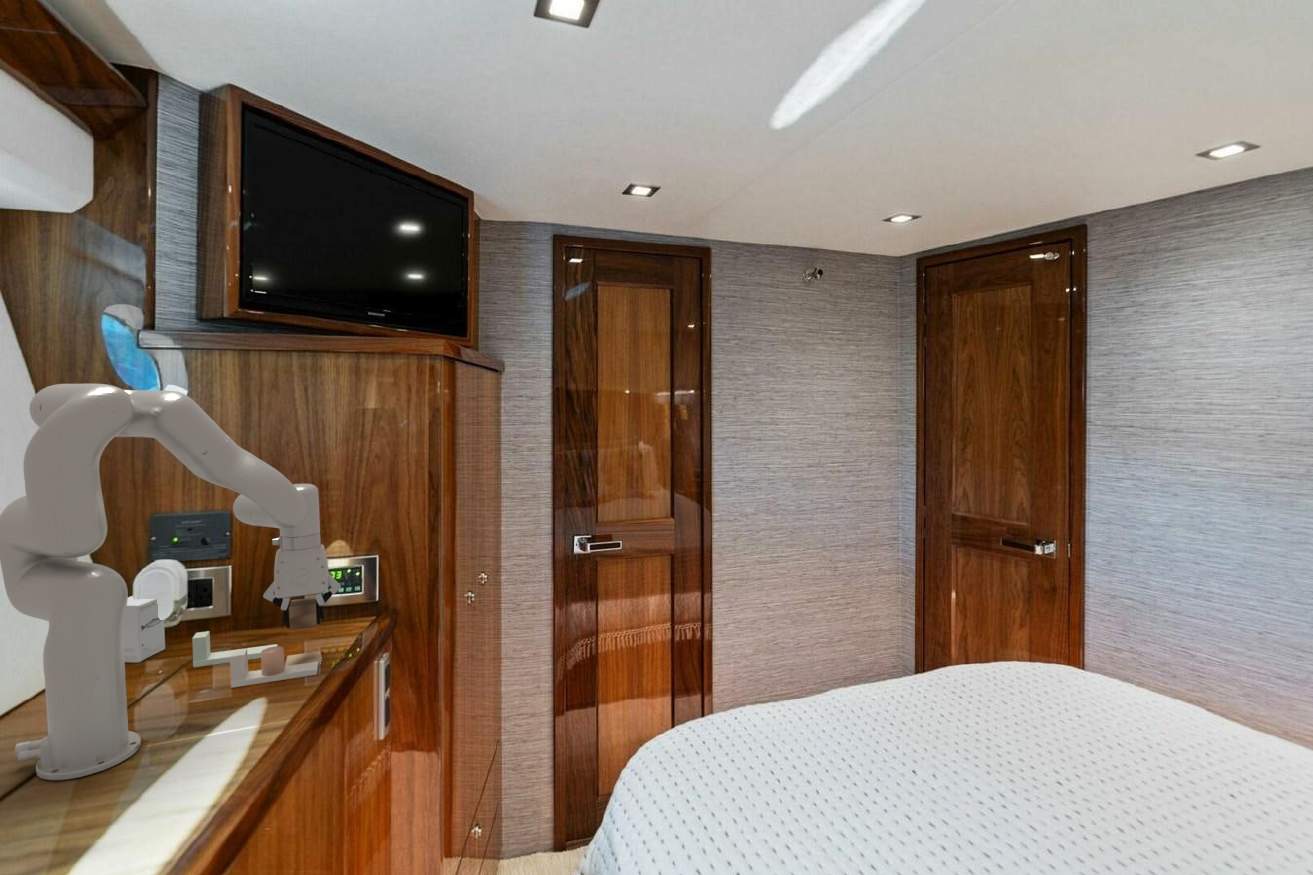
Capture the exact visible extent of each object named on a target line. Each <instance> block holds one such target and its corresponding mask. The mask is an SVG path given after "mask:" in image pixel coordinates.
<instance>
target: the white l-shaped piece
mask: <svg viewBox="0 0 1313 875" xmlns="http://www.w3.org/2000/svg"><path fill="white" fill-rule="evenodd" d="M210 636H211V634H210V630H207V631H201V632H200V631H199V632H198V631H197V632H195V634H194V635H193V637H192V639H191V640H192V641H191V642H192V667H193V668H201V667H205V666H207V667H208V666H213V665H221V664H230V656H231V654H232V652H233V650H234V649H231V650H225V651H217V652H216V651H215V652H211V641H210V640H211V637H210ZM276 646H278V643H277V644H268V645H261V646H254V647H253V646H252V647H247V654H248V661H250V660H256V659H261V651H262V650H264V649H266V648H270V647H276ZM238 649H239V648H237V649H236V650H238ZM244 649H246V648H244Z"/></svg>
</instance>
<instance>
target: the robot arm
mask: <svg viewBox="0 0 1313 875" xmlns="http://www.w3.org/2000/svg"><path fill="white" fill-rule="evenodd" d="M29 415H30V417H31V419H32V421H33V423H34V424H35V425H36V426H37V427H38V429H37V430H36V431H35V432H34V434H33V436H32V437H31V439H30V440H29V442H28V444H27V446H26V449H25V452H24V456H23V465H22V466H23V478H24V479H23V480H24V488H25V490H24V491H25V495H23V496H21V497H19V498H17V499H14V501H12V502H11V503H9V504H7V506H6V507H4V509H3V510H2V512H1V513H0V568H1V573H2V578H3V579H2V580H3V583H4V589H5V591H6V596H7V599H8V600H9V602H10V604H11V605H12V607H13V608H14V609H15V610H17V611H18V612H19V613H21V614H23V615H25V616H28V617H30V618H31V617H32V618H35V619H40V620H43V621H46V622H48V632H47V635H46V639H45V642H44V646H43V654H42V665H43V674H44V675H43V676H44V690H45V706H46V708H45V709H46V721H47V724H46V725H47V736H44V737H42V739H38V740H34V739H33V740H27V741H21V742H20V741H19V742H18V743H16V744H15V745H14V746H15V747H14V755H15V757H17V761H18V762H20V761H26V760H30V759H35V758H37V759H38V761H37V763H36V765H35V773H36V776H37V777H38V778H40V779H43V780H48V781H65V780H73V779H77V778H78V779H79V778H82V777H85V776H89V775H93V774H96V773H99V772H102V771H105V770H107V769H110V768H113V767H115V766H116V765H118V764H120V763H122V762H123V761H125V760H127V759H129V758H130V757H132V756H133V755H134V754H135V753H137V751H138V750H139V749H140V748H141V743H142V739H141V736H140V734H139V733H137V732H135V731H132V730H129V723H128V722H129V720H128V717H129V716H128V701H127V684H126V665H125V663H126V662H125V661H124V644H123V627H124V617H125V611H126V606H127V599H128V597H129V596H128V594H129V592H128V591H129V590H128V586H127V583H126V581H125V579H124V578H123V577H122V576H121V575H120V573H119V572H118V571H115V569H112V568H111V567H109V566H106V565H103V564H99V563H94V562H86V561H81V560H79V558H81V557H84V556H88V555H91V554H92V553H94V552H95V551H97V550H98V549H99V548H100V547H102V545H103V544H104V542H105V540H106V537H107V534H108V521H107V515H106V510H105V503H104V496H103V492H102V490H103V489H102V486H101V477H100V476H101V475H100V462H101V457H102V455H103V452H104V451H105V448H106V447H107V446H108V445H109V443H110V442H111V441H112V440H113V439H114V438H115V437H116V438H130V437H131V438H133V437H134V438H151V439H152V438H153V439H155V440H157V442H159V443H160V444H161V445H162V446H163V447H164V448H165V449H167V450H168V451H169V453H171V454H172V455H173V456H174V457H175V458H176V459H178V460H179V461H180V462H181V463H182V464H183V465H184V466H185V467H186V468H187V469H188V470H189V471H190V472H191V473H192V474H193V475H195V476H197V477H198V478H199V479H201V480H204V481H206V482H209V483H210V484H213V485H216V486H219V487H222V488H225V489H228V490H230V491H233V492H236V493H238V494H239V495H238V496H237V497H236V498H235V501H234V502H233V505H232V506H233V507H232V510H233V514H234V516H235V517H236V519H237V520H239V522H242V523H244V524H246V525H250V526H255V527H264V528H265V527H267V528H274V529H275V528H276V529H279V536H278V537H275V538H272V541H271V543H272V546H278V547H279V548H278V549H277V550H276V552H275V558H274V559H275V560H274V569H273V570H274V574H273V577H274V578H273V579H274V580H273V582H272V583H271V584H270V585H269V587H268V588H267V589H266V590H265V592H264V593H263V595H262V597H263V599H265V600H267V601H270V602H272V604H274V605H275V606H277V607H278V608H280V610H281V611H282V622H283V624H284V625H285V624H286V629H290V621H289V606H290V602H291V598H300V597H306V596H314V597H316V599H317V606H316V616H317V625H321V623H322V622H321V621H322V619H323V620H324V619H325V603H326V602H327V601H329V599H331V597H333V595H335V594H336V593H337V592H338V591H339V590H340V589H341V584H340V583H339V581H337V580H336V579H335V578H334V577H333V576H332V575H331V574H330V573H329V563H328V556H327V553H326V548H325V545H324V544H322V543H321V527H320V526H321V524H320V523H321V522H320V500H319V498H320V496H319V489H318V487H317V486H316V485H314V484H312V483H292V482H291V481H290V480H289V479H288V478H287V477H286V476H285V475H284V474H283V473H281V472H280V471H279V470H277V469H276V468H275V467H273V466H272V465H270V464H268V463H267V462H265V461H264V460H262V459H260V458H259V457H257V456H255V454H253V453H252V452H249V451H248V450H246V449H244V448H242V447H241V446H239V445H238V444H237V443H236V442H235V441H234V440H233V439H232V438H231V437H230V436H229V435H228V434H227V433H226V432H225V431H224V430H223V429H222V428H221V427H220V426H219V424H217V423H216V422H215V420H213V419H212V418H211V416H210V415H208V413H207V412H205V411H204V409H203V408H201V406H200V405H199V404H197V403H196V402H195V400H193V399H192V398H191V397H190V396H188V395H187V394H184V393H182V392H179V391H174V390H155V389H153V390H148V389H147V390H143V389H142V390H141V389H139V390H137V389H135V390H134V389H122V388H120V387H117V386H115V385H112V384H104V383H59V384H53V385H49V386H46V387H44V388H42V389H41V390H39V391H38V392H36V393H35V395H34V396H33V397H32V398H31V401H30V404H29ZM329 586H330V587H331V588H329Z"/></svg>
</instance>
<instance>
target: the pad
mask: <svg viewBox="0 0 1313 875" xmlns="http://www.w3.org/2000/svg"><path fill="white" fill-rule="evenodd" d="M320 651H321V650H320ZM320 651H312V652H305V653H299V654H292V655H291V654H290V655H287V656H286V660H285V662H284V666H291V665H297V664H304V663H311V662H318V665H321V664H322V663H321V662H323V657H321V655H320V654H321V653H320ZM320 663H321V664H320Z"/></svg>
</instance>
